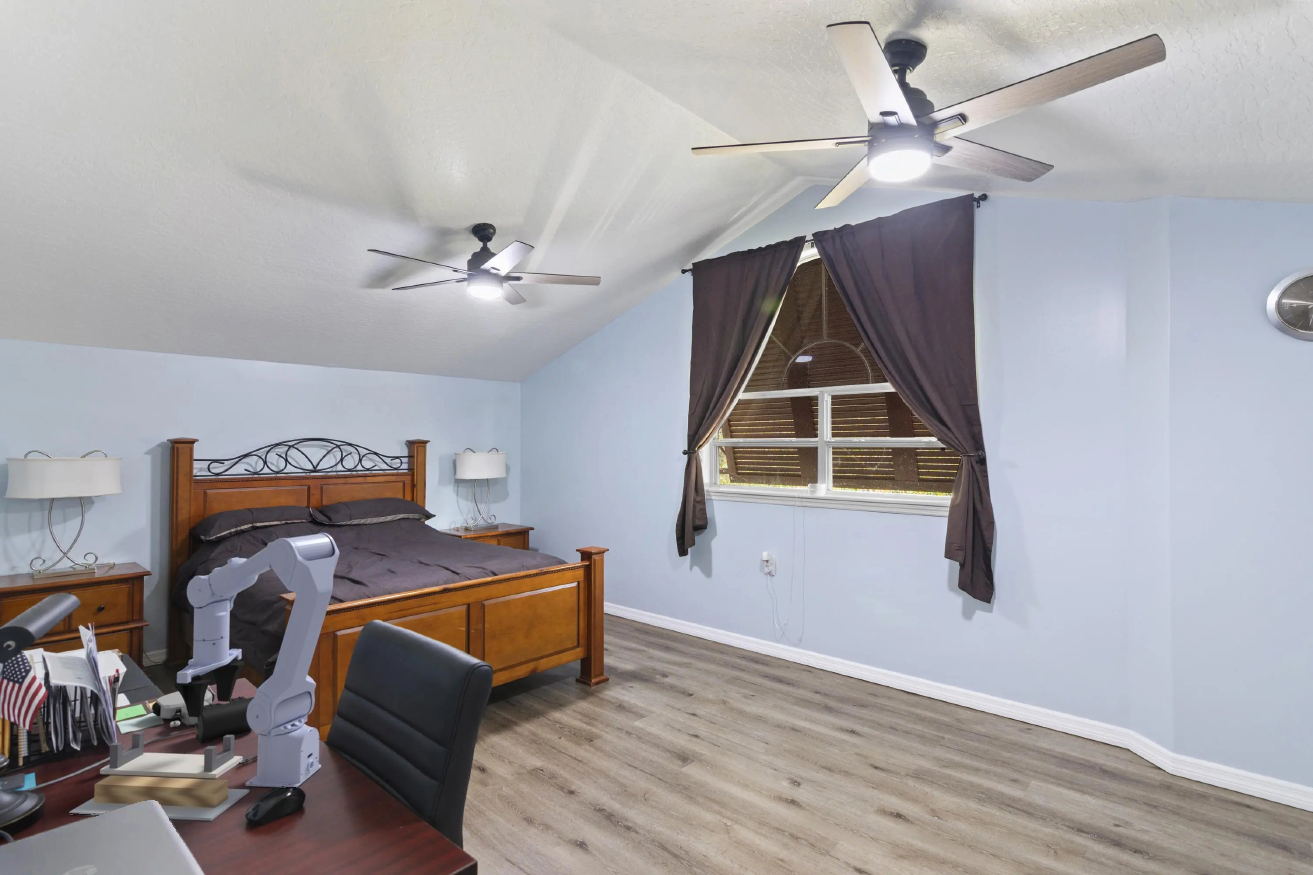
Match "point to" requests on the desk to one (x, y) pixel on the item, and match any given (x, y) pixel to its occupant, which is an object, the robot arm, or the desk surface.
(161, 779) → the oak rail
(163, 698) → the robot toy
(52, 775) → the desk surface
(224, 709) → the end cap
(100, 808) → the rubber mat
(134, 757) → the hook rack
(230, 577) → the robot arm
